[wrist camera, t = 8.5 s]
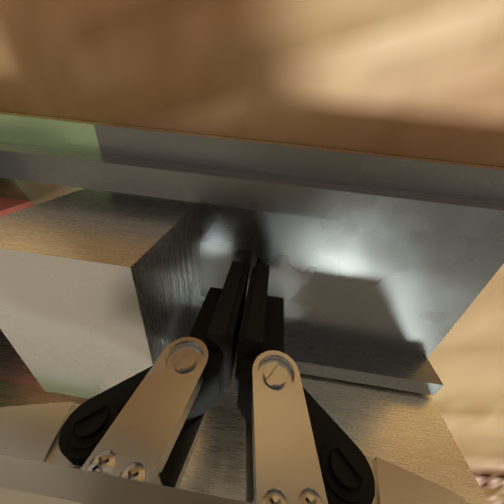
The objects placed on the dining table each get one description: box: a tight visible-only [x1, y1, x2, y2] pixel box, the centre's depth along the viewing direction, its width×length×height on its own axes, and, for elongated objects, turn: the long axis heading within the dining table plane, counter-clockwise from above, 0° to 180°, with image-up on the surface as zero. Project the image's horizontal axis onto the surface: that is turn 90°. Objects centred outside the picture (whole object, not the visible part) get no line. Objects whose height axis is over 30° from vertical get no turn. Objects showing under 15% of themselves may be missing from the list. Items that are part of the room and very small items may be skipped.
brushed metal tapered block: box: [0, 188, 202, 399], centre depth 9 cm, size 6×7×5 cm
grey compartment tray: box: [0, 111, 504, 504], centre depth 8 cm, size 26×12×9 cm, turn 85°
